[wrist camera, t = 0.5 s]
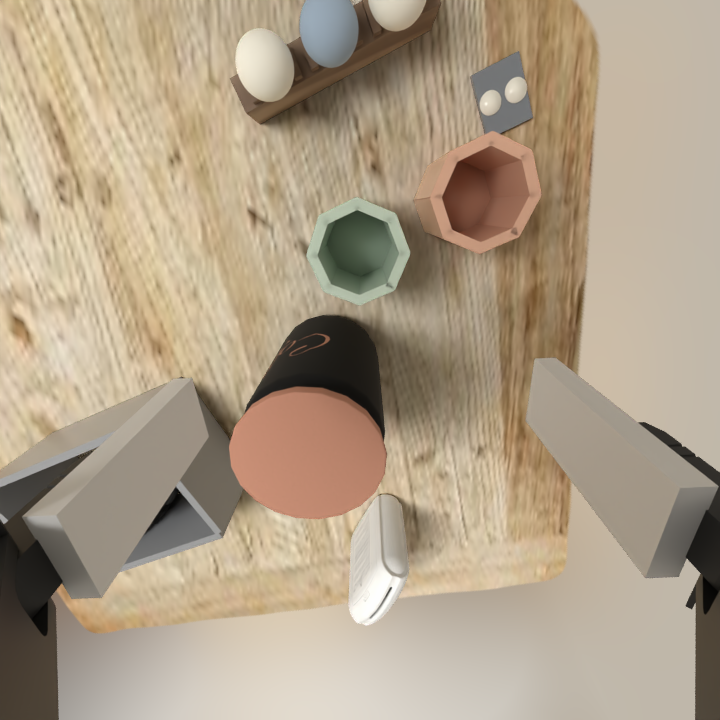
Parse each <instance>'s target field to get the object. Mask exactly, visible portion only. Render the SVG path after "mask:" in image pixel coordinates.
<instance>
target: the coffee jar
mask: <svg viewBox="0 0 720 720" xmlns="http://www.w3.org/2000/svg"><path fill="white" fill-rule="evenodd" d="M384 435H385V427H384V416H383V406H382V395H381V385H380V374H379V364H378V356H377V352H376V348H375V345H374V343H373V341H372V340H371V338H370V337H369V335H368V334H367V332H366V331H365V330H364V329H362V328H361V327H360V326H358V325H357V324H356V323H355V322H353V321H350V320H347V319H345V318H342V317H339V316H325V315H323V316H319V317H315V318H311V319H307V320H306V321H304V322H303V323H301V324H300V325H298V326H297V327H295V328H294V330H293V331H292V332H291V333H290V335H289V336H288V337H287V339H286V340H285V342H284V343H283V345H282V347H281V349H280V350H279V352H278V354H277V355H276V357H275V359H274V360H273V362H272V364H271V365H270V367H269V369H268V371H267V372H266V374H265V376H264V377H263V379H262V381H261V382H260V384H259V386H258V387H257V389H256V391H255V392H254V394H253V396H252V398H251V399H250V401H249V403H248V404H247V407H246V410H245V413H244V415H243V416H242V418H241V419H240V420H239V421H238V423H237V424H236V425H235V427H234V431H233V434H232V438H231V441H230V444H229V451H230V460H231V467H232V469H233V471H234V473H235V475H236V477H237V479H238V481H239V483H240V485H241V486H242V487H243V488H244V489H245V490H246V491H247V492H248V493H249V494H250V495H251V496H252V497H253V498H254V499H255V500H256V501H257V502H259V503H261V504H263V505H264V506H266V507H268V508H270V509H271V510H273V511H275V512H278V513H281V514H285V515H288V516H292V517H295V518H309V519H322V518H328V517H333V516H338V515H342V514H344V513H346V512H348V511H350V510H352V509H355V508H357V507H359V506H361V505H362V504H363V503H364V502H365V501H366V500H367V499H368V498H369V497H370V496H371V495H373V494H374V493H375V491H376V490H377V488H378V486H379V484H380V482H381V480H382V478H383V476H384V474H385V467H386V458H387V453H386V448H385V445H384Z"/></svg>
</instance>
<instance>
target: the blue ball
mask: <svg viewBox="0 0 720 720" xmlns="http://www.w3.org/2000/svg"><path fill="white" fill-rule="evenodd" d="M358 30H359V28H358V20H357V15H356V12H355V9H354V7H353V5H352V3H351V2H350V0H306V1H305V3H304V5H303V8H302V11H301V15H300V35H301V40H302V43H303V46H304V48H305V50H306V52H307V53H308V55H309V56H310V57H311V58H312V59H313V60H314V61H315V62H316V63H317V64H319V65H321V66H323V67H327V68H334V67H338V66H340V65H342V64H344V63H345V62H346V61H347V60H348V59H349V58H350V57H351V55H352V54H353V52H354V50H355V47H356V44H357V40H358Z"/></svg>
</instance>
